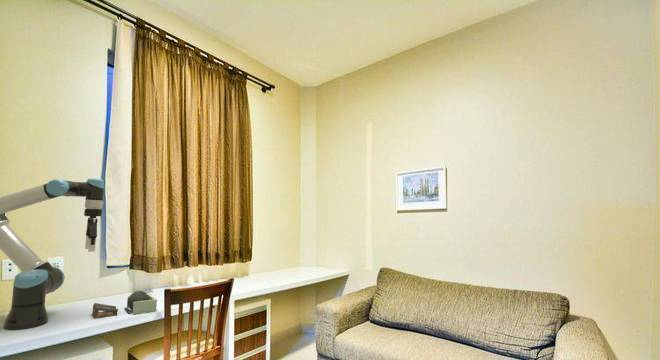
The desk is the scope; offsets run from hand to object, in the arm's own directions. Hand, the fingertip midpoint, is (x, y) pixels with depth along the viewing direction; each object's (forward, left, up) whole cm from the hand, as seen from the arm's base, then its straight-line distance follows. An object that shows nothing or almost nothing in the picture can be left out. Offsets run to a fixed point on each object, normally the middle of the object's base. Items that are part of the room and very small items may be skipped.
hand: (89, 250), depth 179 cm
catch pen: (+24, -7, -32) cm, 40 cm away
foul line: (+18, -7, -32) cm, 37 cm away
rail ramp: (+8, -7, -32) cm, 33 cm away
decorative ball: (+23, -8, -22) cm, 32 cm away
